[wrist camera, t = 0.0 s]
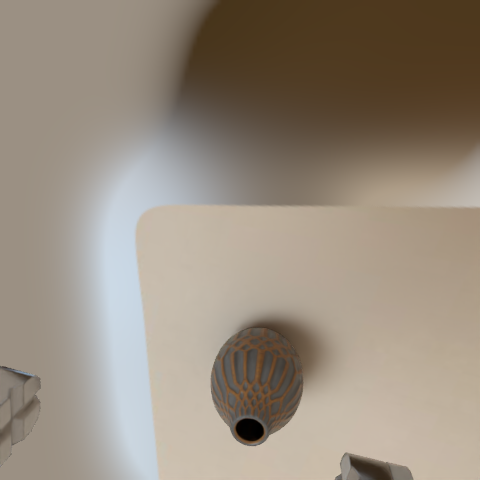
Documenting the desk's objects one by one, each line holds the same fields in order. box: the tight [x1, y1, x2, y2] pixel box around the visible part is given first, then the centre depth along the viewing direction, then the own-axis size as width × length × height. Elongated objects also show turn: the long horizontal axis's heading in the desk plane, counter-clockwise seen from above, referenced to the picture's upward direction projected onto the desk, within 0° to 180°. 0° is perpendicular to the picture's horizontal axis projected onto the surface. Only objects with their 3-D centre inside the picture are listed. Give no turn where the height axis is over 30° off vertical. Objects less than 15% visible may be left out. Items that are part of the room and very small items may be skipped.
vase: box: [211, 328, 303, 446], centre depth 27 cm, size 7×7×9 cm
